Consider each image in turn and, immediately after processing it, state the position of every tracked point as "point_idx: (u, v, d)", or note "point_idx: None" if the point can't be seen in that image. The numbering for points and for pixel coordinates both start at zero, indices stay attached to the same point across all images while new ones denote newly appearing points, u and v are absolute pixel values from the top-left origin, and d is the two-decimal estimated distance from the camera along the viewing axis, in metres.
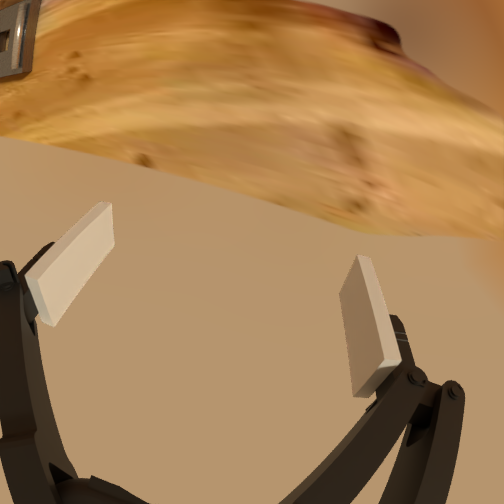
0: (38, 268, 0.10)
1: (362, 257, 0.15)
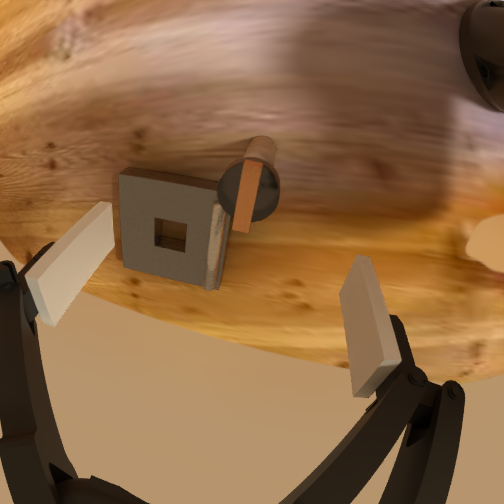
0: (38, 268, 0.10)
1: (362, 257, 0.15)
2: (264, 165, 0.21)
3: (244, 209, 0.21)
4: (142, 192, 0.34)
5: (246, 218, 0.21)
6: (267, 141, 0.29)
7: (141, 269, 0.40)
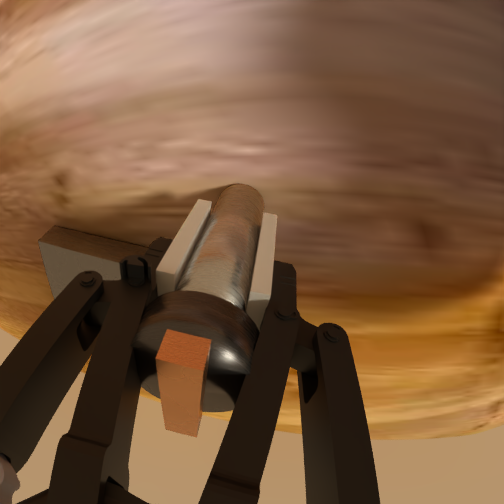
0: (169, 262, 0.12)
1: (268, 214, 0.16)
2: (220, 326, 0.09)
3: (180, 415, 0.09)
4: (69, 267, 0.21)
5: (188, 424, 0.09)
6: (246, 199, 0.17)
7: None
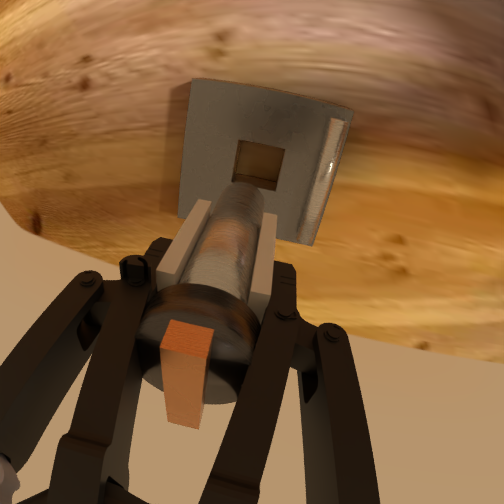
0: (169, 262, 0.12)
1: (268, 214, 0.16)
2: (222, 317, 0.09)
3: (183, 406, 0.09)
4: (224, 103, 0.24)
5: (190, 416, 0.09)
6: (247, 196, 0.18)
7: None
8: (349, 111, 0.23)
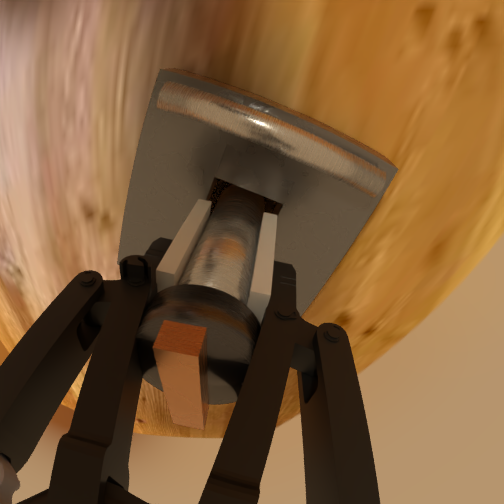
0: (169, 262, 0.12)
1: (268, 214, 0.16)
2: (216, 316, 0.09)
3: (185, 407, 0.09)
4: (145, 239, 0.19)
5: (193, 416, 0.09)
6: (245, 196, 0.18)
7: (304, 303, 0.21)
8: (160, 75, 0.14)
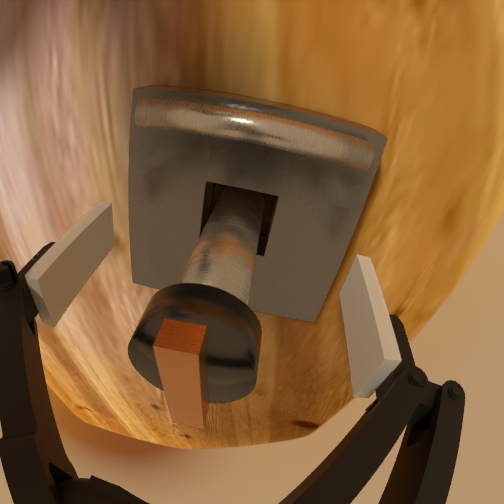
0: (38, 268, 0.10)
1: (362, 257, 0.15)
2: (216, 314, 0.09)
3: (184, 405, 0.09)
4: (154, 253, 0.20)
5: (193, 415, 0.09)
6: (245, 196, 0.18)
7: (321, 293, 0.20)
8: (135, 94, 0.14)
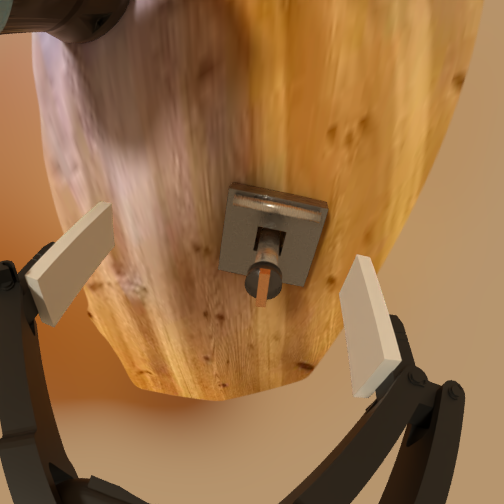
0: (38, 268, 0.10)
1: (362, 257, 0.15)
2: (271, 268, 0.36)
3: (262, 295, 0.36)
4: (232, 255, 0.47)
5: (263, 300, 0.36)
6: (273, 231, 0.45)
7: (305, 272, 0.47)
8: (229, 190, 0.41)
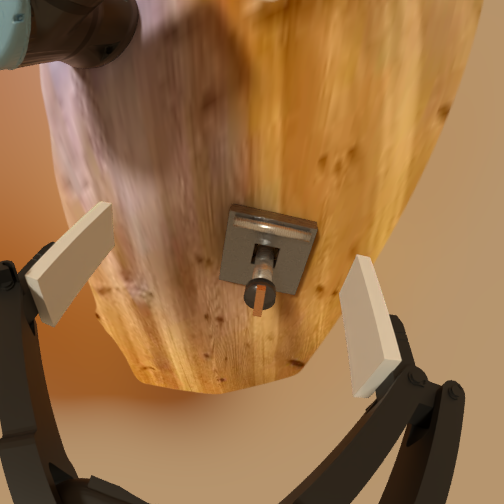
0: (38, 268, 0.10)
1: (362, 257, 0.15)
2: (266, 284, 0.42)
3: (258, 307, 0.42)
4: (231, 267, 0.53)
5: (259, 310, 0.42)
6: (268, 247, 0.50)
7: (296, 282, 0.53)
8: (230, 212, 0.47)
